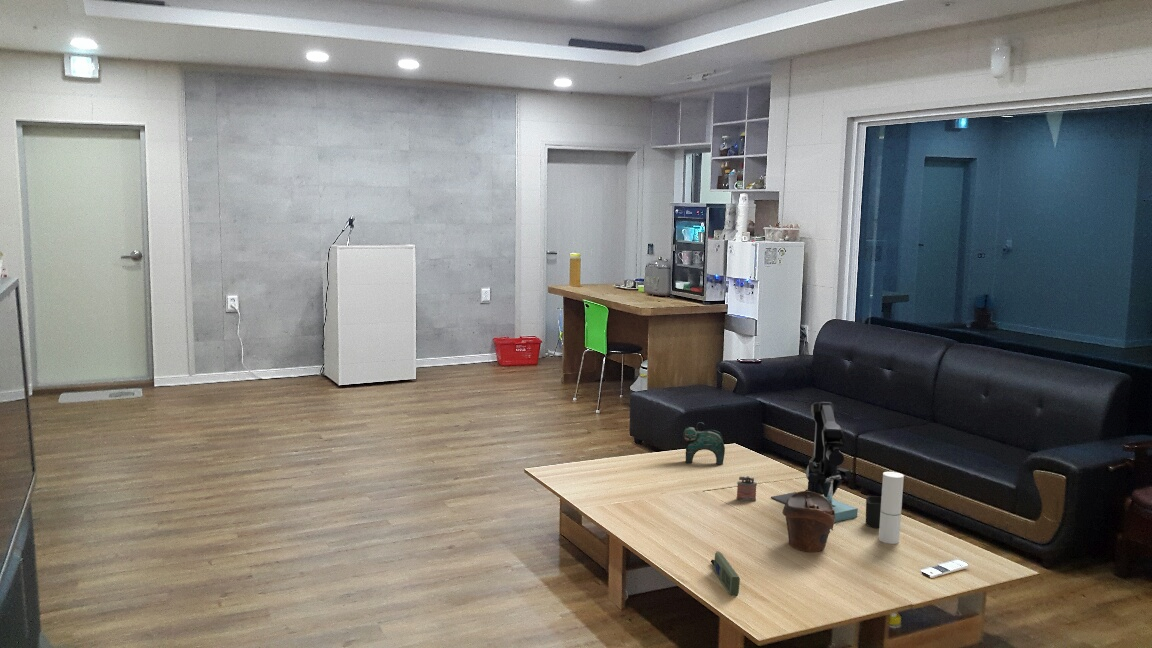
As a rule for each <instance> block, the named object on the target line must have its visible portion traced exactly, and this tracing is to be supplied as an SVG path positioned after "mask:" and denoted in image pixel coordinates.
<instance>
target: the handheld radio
mask: <svg viewBox="0 0 1152 648" xmlns="http://www.w3.org/2000/svg"><path fill="white" fill-rule="evenodd" d="M710 563H711V564H712V566H713V572H714V574H715V575H716V576H717V578H718V580H719V581H720V583H721V584H722V586H723V587H724V588H725V590H726V591H727V593H728V595H730V597H738V596H739V593H740V585H741V583H740V580H741V577H740V576H739V575H738V573H737V572H736V570H735V569H734V568H733V567H732V565H731V564H730V562H729V561H728V560H727V558H726V557H725V556H724V555H723V553H722V552H720V550H717V551H715V553H714V559H713V558H712V559H710Z"/></svg>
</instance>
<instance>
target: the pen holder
mask: <svg viewBox="0 0 1152 648" xmlns="http://www.w3.org/2000/svg"><path fill="white" fill-rule="evenodd" d="M880 511H881V496H877V495H872V496H871V495H870V496H866V499H865V524H866V526H867V527H870V528H874V529H878V530H879V525H880Z"/></svg>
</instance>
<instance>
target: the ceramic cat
mask: <svg viewBox="0 0 1152 648" xmlns="http://www.w3.org/2000/svg"><path fill="white" fill-rule="evenodd" d="M698 424H703V425H705V423H704V422H702V421H701V422H700V421H699V422H697V424H696V425H698ZM682 433H683V434H682V437H683V439H684V440H685V441H686V442H687V443H686V444H685V445H686V446H685V464H692V463H693V462H694V457H695V454H696V453H697V452H700V451H702V450H703V451H705V450H706V451H710V452H712V453H713V454H714V456H715V463H716V465H717V466H723V465H724V459H725V453H726V447H725V444H724V441H723V440H724V437H723V435H722V433H721V432H720V431H717V429H716V430H715V429H707V430H703V431H701V430H699V429H698V428H695V427H692V426H688V425H687V426H685V429H684V431H683V432H682Z"/></svg>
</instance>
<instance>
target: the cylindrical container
mask: <svg viewBox="0 0 1152 648" xmlns="http://www.w3.org/2000/svg"><path fill="white" fill-rule="evenodd" d="M904 479H905V475H904V474H903V473H900V472H896V471H884V472H882V485H881V496H880V497H881V511H880V525H879V529H878V540H879V541H880V542H881V543H885V544H890V545H892V544H893V545H894V544H899V543H900V532H901V521H902V520H901V519H902V507H903V492H904V481H905V480H904Z"/></svg>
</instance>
